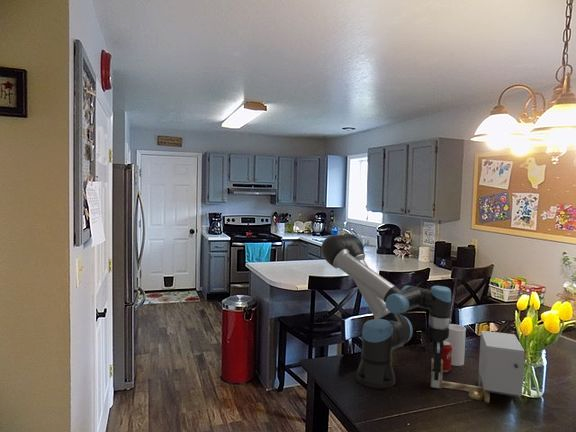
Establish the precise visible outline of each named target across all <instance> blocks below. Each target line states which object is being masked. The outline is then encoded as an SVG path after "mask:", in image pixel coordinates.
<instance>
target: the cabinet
mask: <svg viewBox="0 0 576 432" xmlns="http://www.w3.org/2000/svg"><path fill="white" fill-rule="evenodd" d="M478 358H479V359H478V374H477V375H478V380H477V384H478V385H477V386H480V387H482V384H483V387H484V390H488V391H489V394H490V393H492V394H498V395H505V396H509V397H516V396H520V397H521V396H522V395H523V386H524V385H523V384H524V383H523V381H524V369H525V368H524V367H525V349H524V347H523V346H522V344H521V342H520V341H519V340H518V338H517V335H516V334H513V333H506V332H505V333H504V332H497V331H487V330H480V342H479V357H478Z"/></svg>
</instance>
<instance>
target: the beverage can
mask: <svg viewBox="0 0 576 432" xmlns="http://www.w3.org/2000/svg"><path fill="white" fill-rule="evenodd" d="M443 343H444V345H443V351H442V354H441V359H442V360H443V373H449V371H451V370H452V365H451V358H452V346H451V343H450V342H448V341H445V340H443Z"/></svg>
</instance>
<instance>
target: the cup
mask: <svg viewBox="0 0 576 432" xmlns="http://www.w3.org/2000/svg"><path fill="white" fill-rule="evenodd" d="M448 328H449V337H448V338H447V339H444V341H448V342H450V343H451V346H452V358H451V366H455V367H456V366H459V367H461V366H464V364H465V355H466V354H465V352H466V351H465V350H466V346H465V345H466V333H467V332H466V331H467V328H466V327H465V326H463V325H460V324H454V323H451V324H450V323H449V327H448Z"/></svg>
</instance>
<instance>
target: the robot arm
mask: <svg viewBox="0 0 576 432" xmlns="http://www.w3.org/2000/svg"><path fill="white" fill-rule="evenodd" d="M320 247H321V248H320V252H321V255H322V258H323V259H324V260H325V261H326V263H328V264H329V265H330V266H332V267H333V268H335V269H339V270H341V271H342V272H343V273H345V274H346V275H348V276H349V277H350V278H351V279H353V281H354V283H355V285H356V286H357V289H358V290H359V292H360V294H361V295H362V296H361V297H363V300H364V301H365V303H366V305H367V306H368V308H369V310H370V312H371V314H372V316H373V318H374V319H373V318H372V319H370V320H367V321H366V322H365V323H364V324H363V326H362V331H361V334H362V335H361V337H362V339H361V341H362V344H361V360H360V362H359V366H358V369H357V370H356V380H357V382H358V383H359V384H360V385H362V386H365V387H367V388H371V389H382V390H384V389H389V388H392V387H393V386H394V385H395V383H396V375H395V372H394V368H393V365H392V356H393V355H392V351H393V350H395V349H397V348H399V347H401V346H404V345H405V344H407V343H408V342H409V341H410V340H411V338H412V337H413V331H414V330H413V325H412V323H411V321H410V320H409V318H407V317H406V316H404V315H401V314H403V313H405V312H408V311H410V310H413V309H415V308H422V309H426V310H429V314H428V315H429V316H428V336H429V337H431V338H433V339H432V352H433V353H432V354H433V356H432V358H434V367H433V369H431V370H430V372H431V371H433V376H432V387H431V388H434V387H435V389H440V388H439V385H440V372H441V354H442V351H443V345H444V343H443V341H444V340H445V339H447V338H448V337H449V328H448V327H449V324H450V322H452V318H451V319H450V317H451V307H452V305H451V304H452V291H451V289H450V288H449V287H447V286H443V285H433V286H431V287H430V289H427V288H423V287H418V286H414V285H404V286H403V287H402V288H401V289H400V288H398V287H397V286H396V285H394V284H393V283H392V282H390V281H388V279H386V278H384V277H383V276H381V275H380V274H378V272H376V271H374V270H373V269H372V268H370V267H369V265H368V263H367V262H366V261H365V258H366V254H365V243H364V241H363V240H362V239H361V237H359V236H358V235H356V234H353V233H344V234H337V235H330V236H328V237H326V238H325V239H324V240H323V242H322V243H321V246H320Z"/></svg>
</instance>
